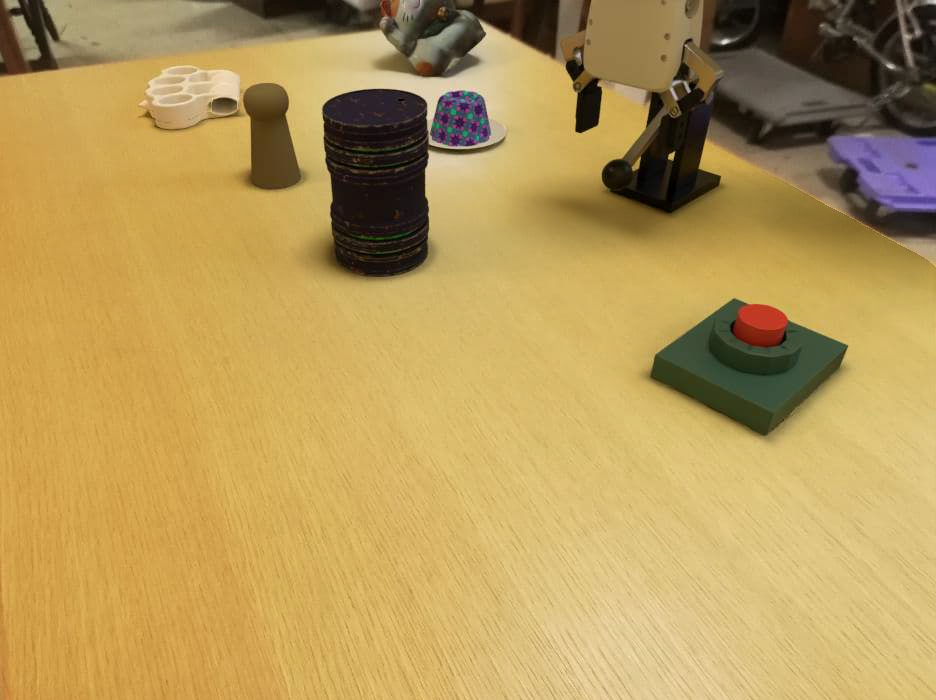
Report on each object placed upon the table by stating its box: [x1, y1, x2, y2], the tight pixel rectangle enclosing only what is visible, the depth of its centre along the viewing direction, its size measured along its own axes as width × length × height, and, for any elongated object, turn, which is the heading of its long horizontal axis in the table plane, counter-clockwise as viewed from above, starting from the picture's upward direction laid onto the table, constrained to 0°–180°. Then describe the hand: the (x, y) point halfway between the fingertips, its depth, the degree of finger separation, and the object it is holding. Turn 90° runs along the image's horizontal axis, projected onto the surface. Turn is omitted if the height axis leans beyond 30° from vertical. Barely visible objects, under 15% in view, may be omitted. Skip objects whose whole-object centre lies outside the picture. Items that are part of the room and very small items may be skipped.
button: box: [733, 303, 789, 348], centre depth 61 cm, size 4×4×2 cm
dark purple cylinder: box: [321, 88, 430, 277], centre depth 76 cm, size 10×10×15 cm
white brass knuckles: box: [137, 65, 242, 130], centre depth 115 cm, size 3×18×15 cm
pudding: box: [427, 89, 507, 150], centre depth 103 cm, size 12×12×5 cm
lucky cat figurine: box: [379, 0, 487, 77], centre depth 125 cm, size 15×12×14 cm
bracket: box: [609, 78, 722, 214], centre depth 86 cm, size 10×8×13 cm
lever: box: [601, 73, 699, 191], centre depth 83 cm, size 15×3×3 cm
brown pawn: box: [242, 82, 302, 190], centre depth 92 cm, size 6×6×11 cm
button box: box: [650, 297, 849, 436], centre depth 63 cm, size 12×10×4 cm
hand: (625, 140), depth 79 cm, fingers open, 9 cm apart
